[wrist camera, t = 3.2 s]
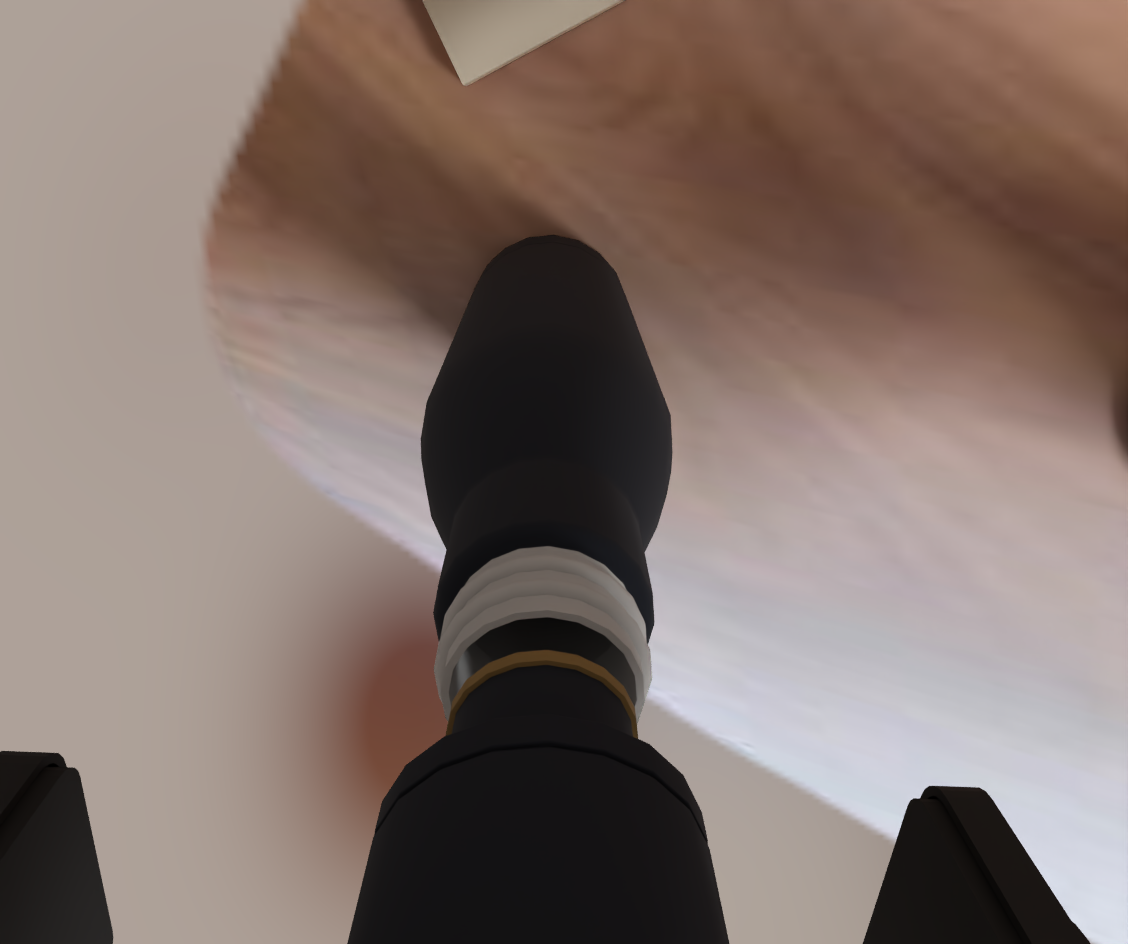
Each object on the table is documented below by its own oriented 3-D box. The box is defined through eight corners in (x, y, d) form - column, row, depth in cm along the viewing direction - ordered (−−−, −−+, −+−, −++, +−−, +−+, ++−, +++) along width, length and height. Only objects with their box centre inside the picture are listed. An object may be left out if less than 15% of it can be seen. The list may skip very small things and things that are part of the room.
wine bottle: (606, 215, 33) (885, 799, 5) (641, 367, 35) (953, 1293, 8) (451, 258, 33) (-21, 980, 6) (497, 404, 36) (315, 1385, 8)
